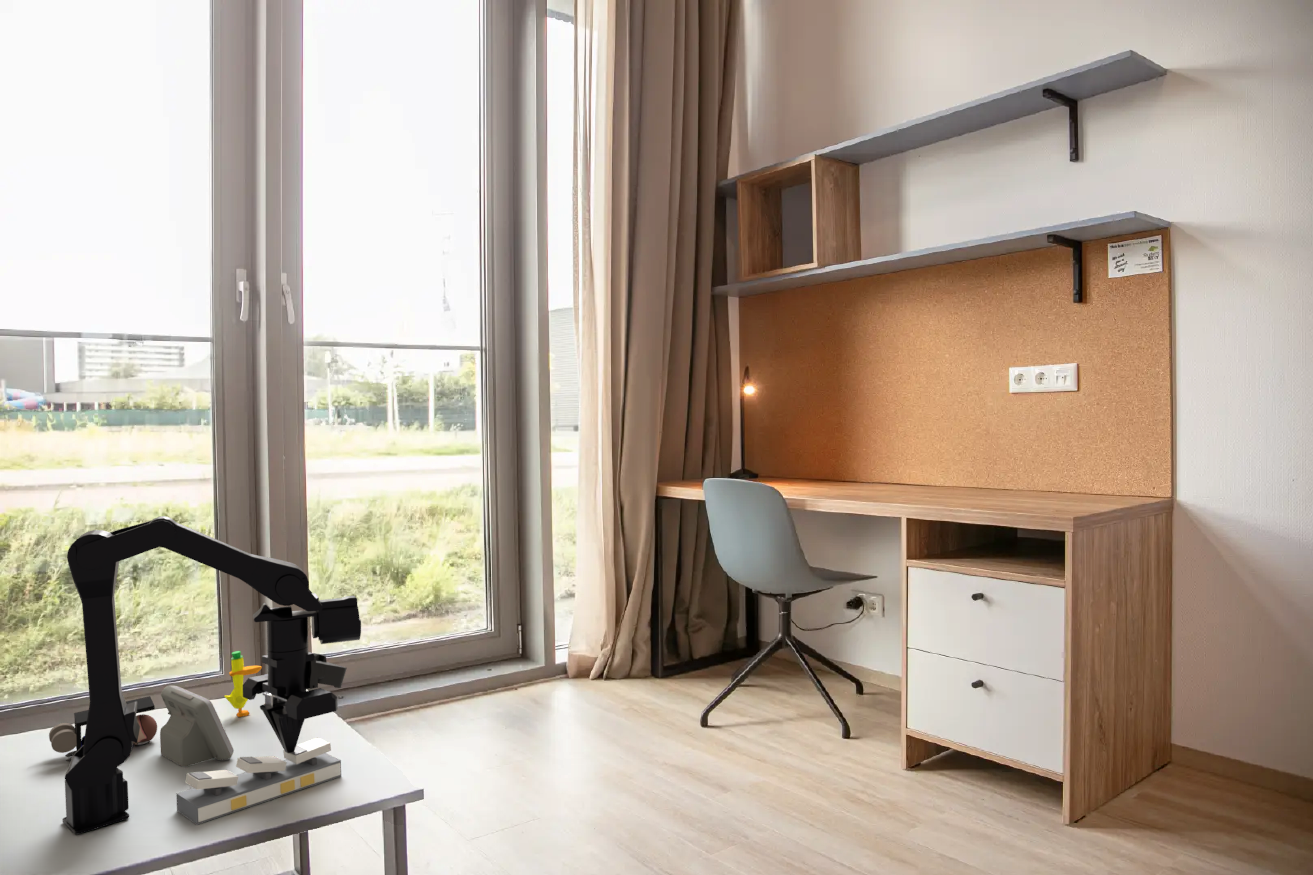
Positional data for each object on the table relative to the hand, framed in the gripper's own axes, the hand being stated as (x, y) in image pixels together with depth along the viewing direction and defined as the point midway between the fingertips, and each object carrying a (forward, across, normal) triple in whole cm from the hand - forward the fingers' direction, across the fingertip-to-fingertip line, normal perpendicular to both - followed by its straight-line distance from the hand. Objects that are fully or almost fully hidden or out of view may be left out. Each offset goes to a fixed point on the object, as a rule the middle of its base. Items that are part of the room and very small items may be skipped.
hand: (289, 751), depth 135 cm
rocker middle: (+1, 0, +4) cm, 4 cm away
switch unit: (+5, 0, +4) cm, 6 cm away
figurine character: (+5, +39, +13) cm, 42 cm away
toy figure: (+5, +39, -10) cm, 40 cm away
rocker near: (+1, 0, +11) cm, 11 cm away
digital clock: (+5, +25, +4) cm, 26 cm away
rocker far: (0, 0, -3) cm, 3 cm away
